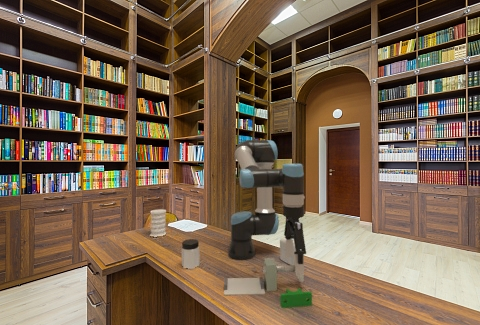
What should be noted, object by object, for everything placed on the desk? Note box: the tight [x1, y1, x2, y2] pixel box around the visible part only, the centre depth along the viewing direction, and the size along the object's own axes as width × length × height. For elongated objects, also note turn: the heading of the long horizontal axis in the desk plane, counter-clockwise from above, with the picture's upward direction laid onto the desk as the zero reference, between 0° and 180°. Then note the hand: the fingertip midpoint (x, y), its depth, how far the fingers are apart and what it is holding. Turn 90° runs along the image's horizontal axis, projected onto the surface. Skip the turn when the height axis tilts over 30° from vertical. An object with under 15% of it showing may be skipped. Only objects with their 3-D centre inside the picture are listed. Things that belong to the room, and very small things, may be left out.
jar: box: [181, 238, 200, 270], centre depth 110 cm, size 9×8×12 cm
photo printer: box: [279, 236, 296, 265], centre depth 113 cm, size 10×4×12 cm, turn 29°
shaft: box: [262, 264, 305, 283], centre depth 91 cm, size 6×16×8 cm, turn 91°
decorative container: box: [149, 208, 167, 237], centre depth 158 cm, size 12×12×18 cm
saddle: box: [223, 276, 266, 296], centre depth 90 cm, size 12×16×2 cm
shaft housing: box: [263, 257, 278, 292], centre depth 91 cm, size 7×4×10 cm, turn 1°
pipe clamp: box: [280, 287, 313, 309], centre depth 79 cm, size 11×4×5 cm, turn 97°
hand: (294, 263), depth 80 cm, fingers open, 13 cm apart
